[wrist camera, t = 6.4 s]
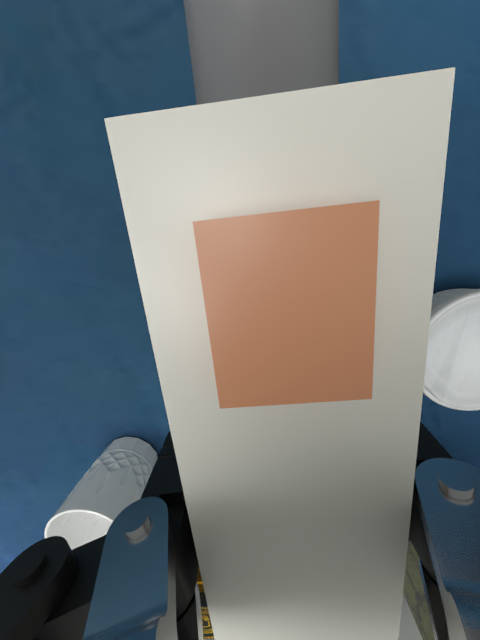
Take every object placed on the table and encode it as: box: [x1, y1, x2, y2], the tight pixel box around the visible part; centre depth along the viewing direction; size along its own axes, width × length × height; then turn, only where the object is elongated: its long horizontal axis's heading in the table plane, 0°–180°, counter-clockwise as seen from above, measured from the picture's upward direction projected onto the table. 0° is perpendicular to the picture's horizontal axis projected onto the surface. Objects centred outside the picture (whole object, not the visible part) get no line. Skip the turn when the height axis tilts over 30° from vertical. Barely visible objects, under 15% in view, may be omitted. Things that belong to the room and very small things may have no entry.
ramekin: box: [423, 288, 480, 411], centre depth 26 cm, size 11×11×5 cm
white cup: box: [45, 436, 158, 550], centre depth 30 cm, size 8×8×10 cm
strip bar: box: [104, 0, 455, 640], centre depth 7 cm, size 23×4×6 cm, turn 6°
